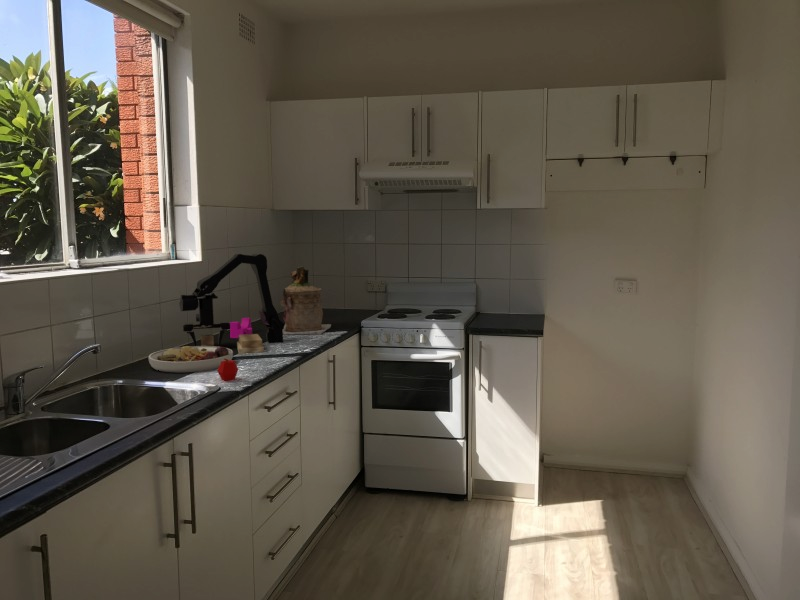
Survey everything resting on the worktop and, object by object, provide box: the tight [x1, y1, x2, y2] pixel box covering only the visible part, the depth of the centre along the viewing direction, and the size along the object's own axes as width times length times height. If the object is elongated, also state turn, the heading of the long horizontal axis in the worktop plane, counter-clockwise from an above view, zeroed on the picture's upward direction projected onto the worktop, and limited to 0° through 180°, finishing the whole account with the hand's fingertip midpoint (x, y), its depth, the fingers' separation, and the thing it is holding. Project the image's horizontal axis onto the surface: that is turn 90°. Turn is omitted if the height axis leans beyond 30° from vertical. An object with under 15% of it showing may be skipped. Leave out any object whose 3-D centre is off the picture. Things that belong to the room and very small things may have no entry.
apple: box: [217, 358, 239, 382], centre depth 226 cm, size 7×7×8 cm
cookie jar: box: [280, 265, 332, 336], centre depth 326 cm, size 25×25×32 cm
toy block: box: [229, 317, 253, 339], centre depth 315 cm, size 15×6×8 cm, turn 169°
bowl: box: [148, 345, 234, 373], centre depth 251 cm, size 30×30×8 cm
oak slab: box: [238, 333, 263, 349], centre depth 280 cm, size 8×16×3 cm, turn 18°
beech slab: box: [236, 340, 265, 355], centre depth 280 cm, size 10×18×3 cm, turn 16°
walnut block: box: [200, 333, 215, 346], centre depth 282 cm, size 5×5×6 cm
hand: (207, 346), depth 282 cm, fingers open, 9 cm apart
